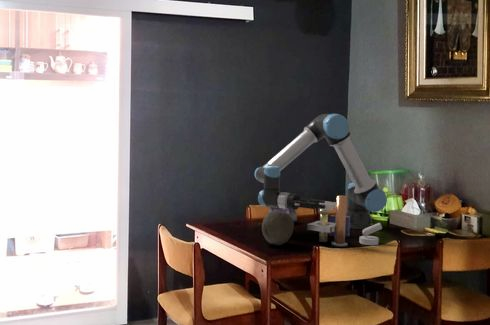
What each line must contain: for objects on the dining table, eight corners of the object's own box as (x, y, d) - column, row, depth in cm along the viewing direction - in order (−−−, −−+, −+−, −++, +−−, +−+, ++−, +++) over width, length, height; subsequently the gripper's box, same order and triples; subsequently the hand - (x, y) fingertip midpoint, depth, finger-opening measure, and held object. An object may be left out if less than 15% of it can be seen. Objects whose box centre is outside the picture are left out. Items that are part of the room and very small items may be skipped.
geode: (259, 219, 324) (261, 201, 325) (276, 220, 331) (278, 202, 331) (282, 224, 308) (284, 205, 308) (299, 225, 314) (301, 206, 314)
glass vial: (326, 239, 272) (327, 208, 271) (329, 242, 268) (330, 210, 266) (317, 239, 271) (318, 208, 270) (319, 242, 267) (320, 210, 266)
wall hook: (385, 224, 267) (363, 224, 266) (384, 245, 268) (362, 245, 267) (379, 220, 275) (358, 220, 275) (378, 241, 276) (357, 240, 275)
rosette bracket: (306, 242, 268) (308, 194, 266) (317, 238, 277) (319, 192, 275) (341, 248, 259) (344, 198, 257) (351, 244, 268) (353, 195, 266)
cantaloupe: (295, 248, 256) (296, 213, 255) (262, 247, 255) (264, 213, 254) (290, 241, 270) (291, 208, 269) (259, 240, 269) (260, 208, 268)
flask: (349, 236, 286) (350, 212, 285) (349, 237, 283) (350, 213, 282) (329, 234, 289) (330, 210, 288) (328, 235, 286) (329, 211, 285)
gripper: (298, 206, 286) (343, 212, 273) (279, 211, 270) (326, 217, 258) (298, 191, 285) (343, 196, 273) (280, 195, 269) (327, 200, 257)
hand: (335, 206), depth 265 cm, fingers open, 5 cm apart
